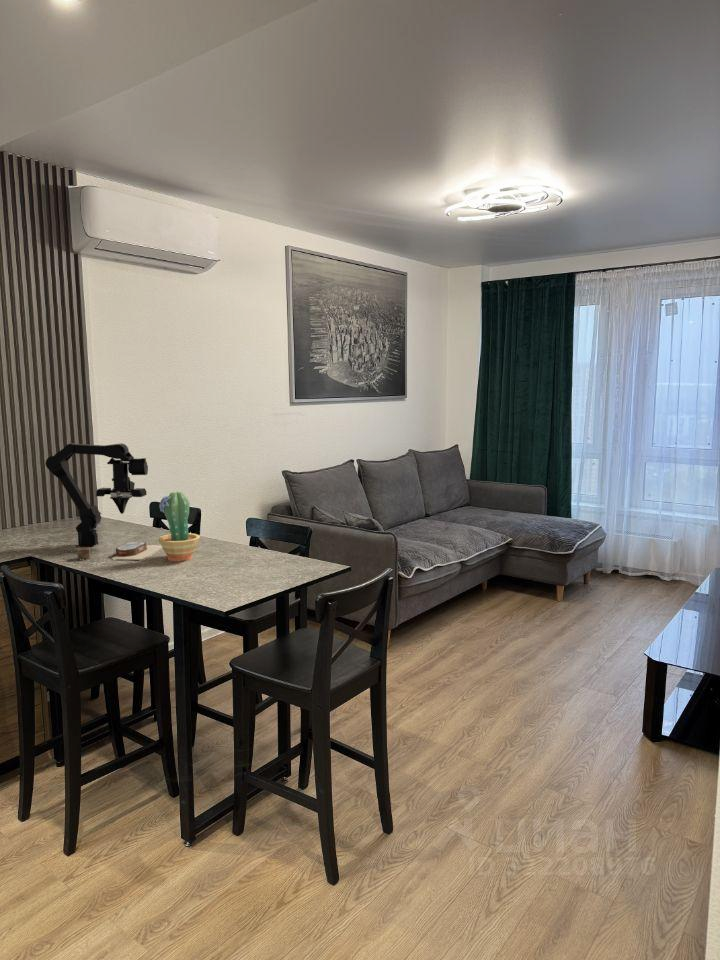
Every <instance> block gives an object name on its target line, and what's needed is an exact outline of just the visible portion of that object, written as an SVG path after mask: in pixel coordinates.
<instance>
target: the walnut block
mask: <svg viewBox="0 0 720 960" xmlns="http://www.w3.org/2000/svg"><path fill="white" fill-rule="evenodd" d="M91 556H92V554H91V547H78V548H77V561H81V560H80V559H91V558H92V557H91ZM90 557H91V558H90Z"/></svg>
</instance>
